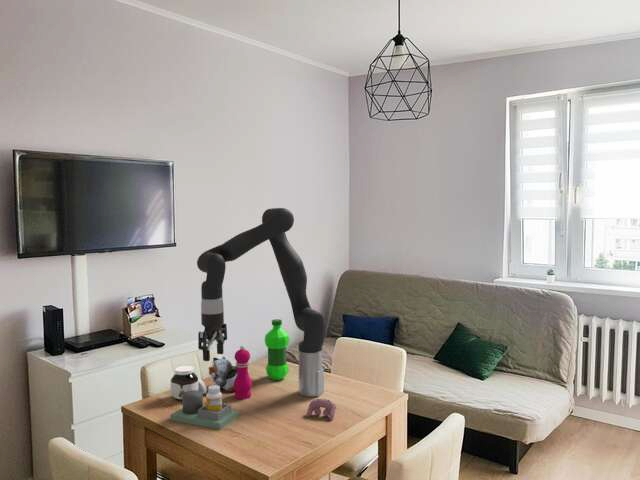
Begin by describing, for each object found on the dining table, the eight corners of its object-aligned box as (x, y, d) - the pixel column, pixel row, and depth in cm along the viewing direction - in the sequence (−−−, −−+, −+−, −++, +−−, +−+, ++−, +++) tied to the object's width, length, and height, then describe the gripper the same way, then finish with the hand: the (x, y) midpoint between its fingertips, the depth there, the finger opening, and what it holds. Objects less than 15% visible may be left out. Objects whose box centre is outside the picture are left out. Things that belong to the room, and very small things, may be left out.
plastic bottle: (293, 375, 233) (292, 318, 231) (281, 383, 223) (281, 324, 221) (272, 372, 237) (272, 316, 235) (260, 380, 227) (260, 321, 225)
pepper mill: (254, 393, 212) (253, 343, 211) (249, 400, 205) (249, 348, 203) (236, 392, 213) (235, 343, 211) (231, 399, 206) (230, 348, 204)
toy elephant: (335, 421, 189) (338, 401, 192) (332, 420, 185) (334, 399, 188) (309, 418, 192) (311, 397, 195) (305, 416, 188) (308, 396, 191)
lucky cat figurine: (239, 394, 211) (221, 365, 208) (215, 402, 215) (197, 374, 212) (252, 371, 225) (235, 344, 221) (229, 379, 229) (212, 353, 226)
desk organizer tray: (238, 415, 190) (238, 393, 190) (220, 429, 179) (219, 406, 178) (191, 407, 198) (190, 386, 197) (170, 420, 186) (170, 397, 186)
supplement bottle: (207, 411, 189) (206, 384, 188) (222, 410, 190) (222, 383, 189) (205, 417, 184) (205, 390, 183) (221, 417, 184) (221, 389, 183)
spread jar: (167, 400, 205) (167, 370, 204) (183, 390, 216) (183, 361, 215) (195, 403, 201) (195, 373, 200) (210, 393, 212) (210, 364, 211)
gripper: (210, 316, 176) (211, 364, 177) (232, 307, 189) (233, 352, 190) (190, 314, 178) (192, 362, 180) (214, 306, 192) (215, 350, 193)
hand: (213, 357), depth 185 cm, fingers open, 8 cm apart
